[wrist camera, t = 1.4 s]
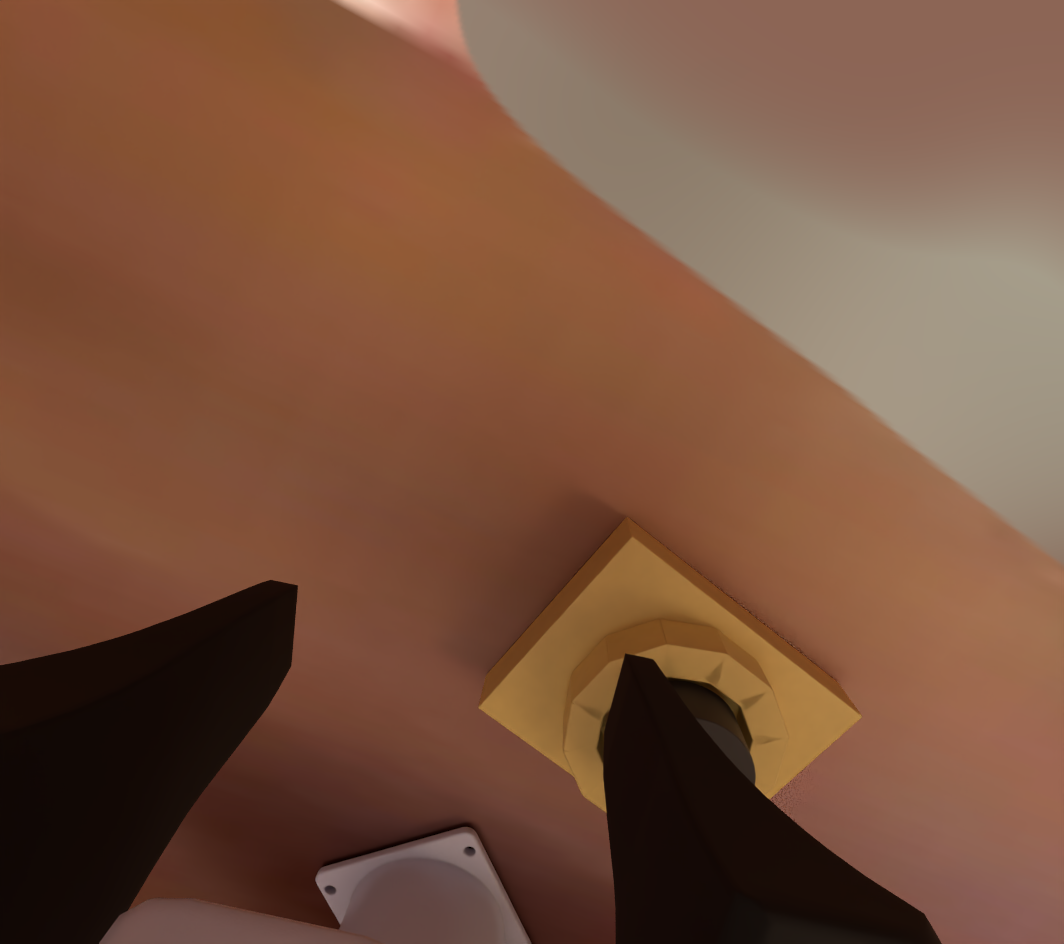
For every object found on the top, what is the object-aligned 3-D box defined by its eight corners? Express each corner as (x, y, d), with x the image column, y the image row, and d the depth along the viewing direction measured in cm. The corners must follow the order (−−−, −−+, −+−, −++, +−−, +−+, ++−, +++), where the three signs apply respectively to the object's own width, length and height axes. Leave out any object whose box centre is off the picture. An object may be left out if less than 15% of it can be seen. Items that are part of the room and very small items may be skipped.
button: (767, 731, 21) (787, 774, 19) (677, 814, 22) (688, 863, 20) (666, 654, 21) (675, 690, 19) (579, 743, 22) (580, 785, 20)
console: (837, 682, 24) (887, 750, 21) (686, 821, 27) (705, 907, 23) (626, 516, 23) (637, 555, 19) (485, 675, 25) (469, 739, 22)
